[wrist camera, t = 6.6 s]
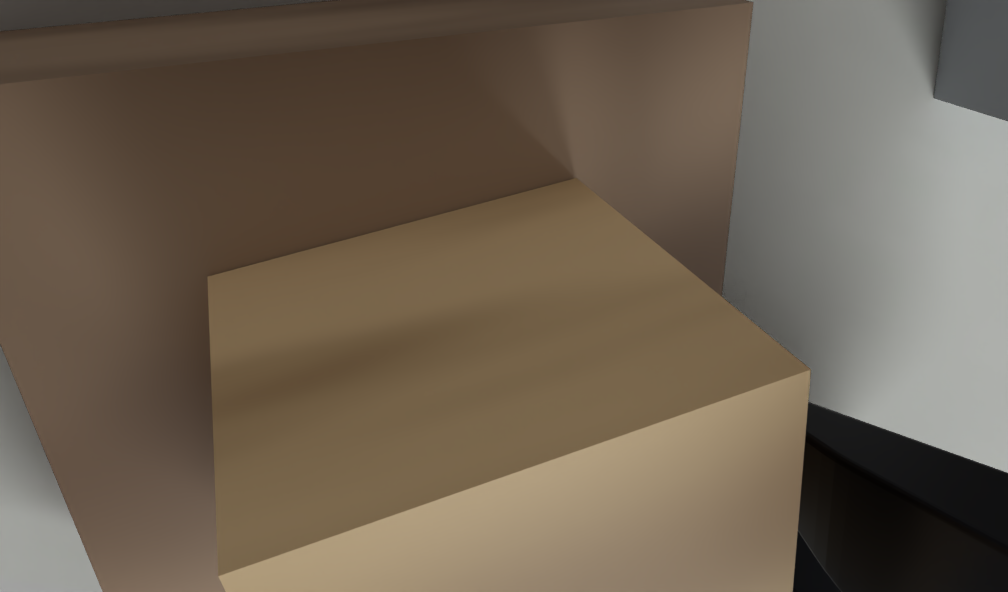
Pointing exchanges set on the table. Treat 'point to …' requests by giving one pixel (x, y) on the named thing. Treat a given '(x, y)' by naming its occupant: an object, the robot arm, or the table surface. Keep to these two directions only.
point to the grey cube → (975, 57)
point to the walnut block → (304, 196)
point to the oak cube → (500, 413)
